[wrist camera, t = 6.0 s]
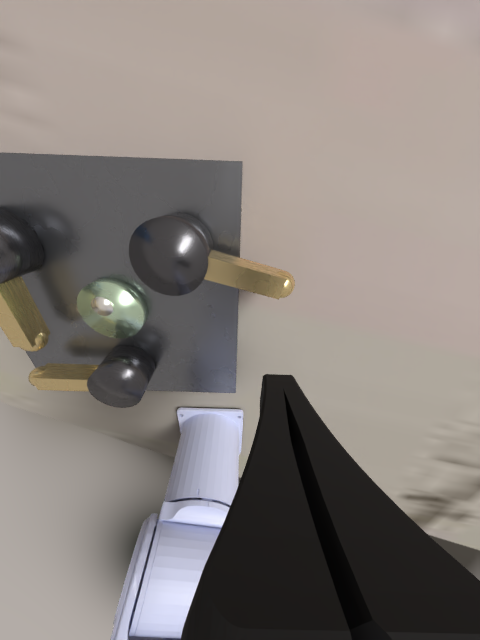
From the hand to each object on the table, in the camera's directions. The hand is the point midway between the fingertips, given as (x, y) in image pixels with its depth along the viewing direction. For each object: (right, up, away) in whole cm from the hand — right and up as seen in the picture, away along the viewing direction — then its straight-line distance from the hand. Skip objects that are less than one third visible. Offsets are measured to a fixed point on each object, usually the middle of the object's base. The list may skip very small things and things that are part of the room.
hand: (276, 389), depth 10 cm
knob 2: (-15, -1, +10) cm, 18 cm away
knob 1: (-18, +6, +6) cm, 20 cm away
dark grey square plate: (-12, +5, +9) cm, 15 cm away
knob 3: (-3, +8, +5) cm, 10 cm away
